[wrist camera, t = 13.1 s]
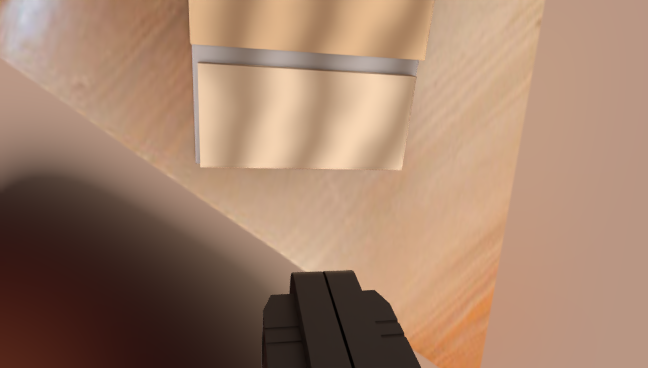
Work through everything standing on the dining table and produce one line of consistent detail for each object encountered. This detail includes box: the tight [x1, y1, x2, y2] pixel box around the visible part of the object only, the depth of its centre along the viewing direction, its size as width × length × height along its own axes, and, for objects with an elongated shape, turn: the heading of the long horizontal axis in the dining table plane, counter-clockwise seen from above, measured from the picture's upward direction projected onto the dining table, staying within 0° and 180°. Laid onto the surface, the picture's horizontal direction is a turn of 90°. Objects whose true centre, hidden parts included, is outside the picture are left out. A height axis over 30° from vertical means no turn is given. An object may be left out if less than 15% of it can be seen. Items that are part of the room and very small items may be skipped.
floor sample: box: [189, 0, 435, 163], centre depth 36 cm, size 19×18×2 cm
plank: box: [197, 62, 416, 170], centre depth 37 cm, size 18×8×1 cm, turn 85°
